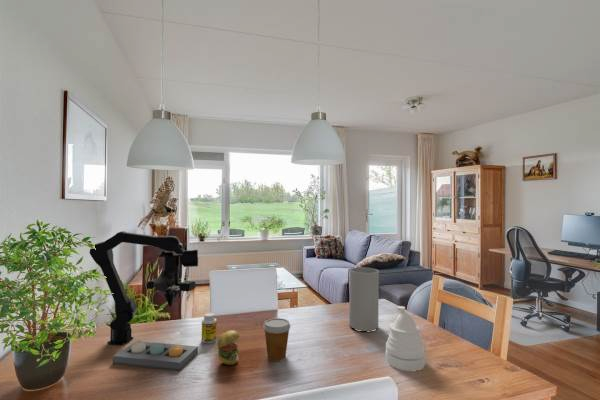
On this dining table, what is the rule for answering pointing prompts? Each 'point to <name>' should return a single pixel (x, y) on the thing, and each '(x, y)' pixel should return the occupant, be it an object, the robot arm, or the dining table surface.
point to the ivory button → (138, 347)
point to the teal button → (157, 349)
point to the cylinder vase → (364, 298)
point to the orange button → (175, 351)
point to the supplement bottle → (209, 328)
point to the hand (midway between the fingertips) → (170, 306)
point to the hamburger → (228, 347)
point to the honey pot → (405, 343)
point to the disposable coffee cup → (276, 338)
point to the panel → (156, 357)
